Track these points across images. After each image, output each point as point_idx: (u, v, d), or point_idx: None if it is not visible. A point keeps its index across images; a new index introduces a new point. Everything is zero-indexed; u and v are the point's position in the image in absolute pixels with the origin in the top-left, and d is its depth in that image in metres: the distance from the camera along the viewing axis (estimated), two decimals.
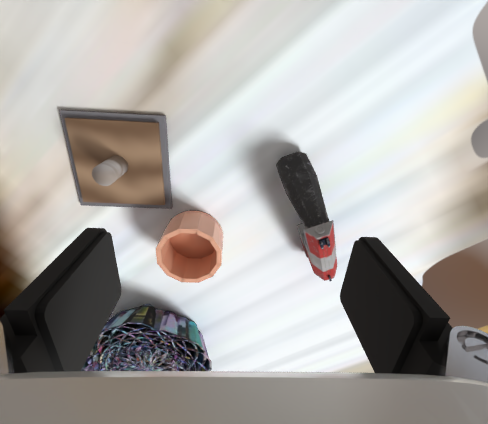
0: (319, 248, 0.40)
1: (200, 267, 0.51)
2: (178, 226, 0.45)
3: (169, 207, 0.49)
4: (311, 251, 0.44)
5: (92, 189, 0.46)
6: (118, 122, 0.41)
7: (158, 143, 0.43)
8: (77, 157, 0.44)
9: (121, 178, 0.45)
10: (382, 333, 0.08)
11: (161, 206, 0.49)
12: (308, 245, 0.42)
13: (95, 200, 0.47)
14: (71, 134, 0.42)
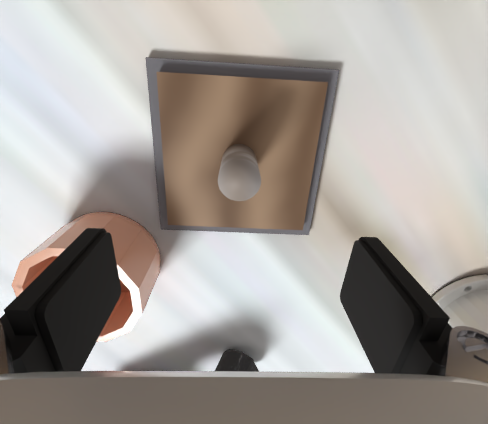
0: None
1: None
2: (139, 278, 0.25)
3: (162, 226, 0.29)
4: None
5: (188, 100, 0.23)
6: (309, 175, 0.26)
7: (273, 227, 0.28)
8: (254, 86, 0.22)
9: (214, 162, 0.25)
10: (382, 333, 0.08)
11: (162, 214, 0.28)
12: None
13: (162, 99, 0.23)
14: (298, 87, 0.22)
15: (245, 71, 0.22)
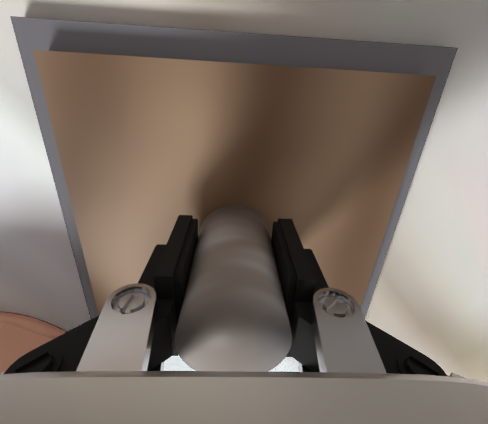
0: None
1: None
2: None
3: None
4: None
5: (117, 117, 0.10)
6: (371, 258, 0.13)
7: None
8: (267, 86, 0.10)
9: None
10: None
11: None
12: None
13: (58, 115, 0.10)
14: (367, 87, 0.10)
15: (247, 51, 0.10)
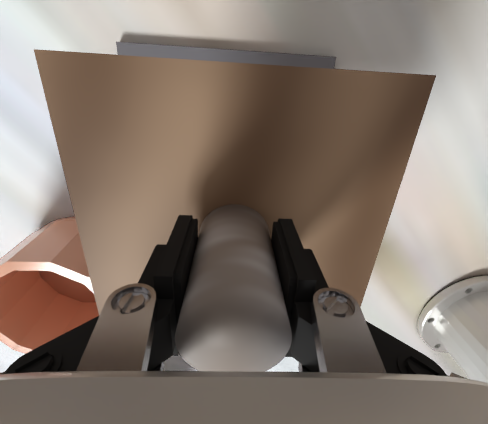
0: None
1: (22, 298, 0.25)
2: None
3: None
4: None
5: (117, 117, 0.10)
6: (371, 258, 0.13)
7: None
8: (267, 85, 0.10)
9: None
10: None
11: None
12: None
13: (58, 115, 0.10)
14: (367, 87, 0.10)
15: (231, 58, 0.20)
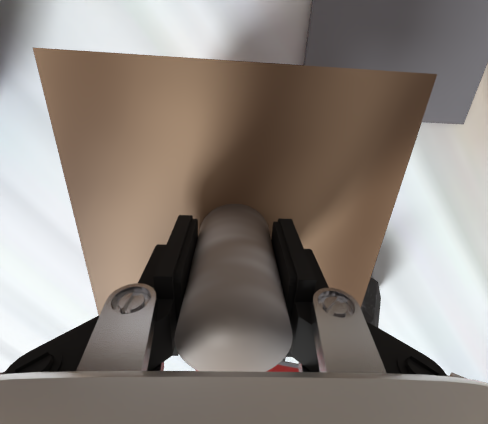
0: None
1: None
2: None
3: None
4: None
5: (117, 115, 0.10)
6: (372, 257, 0.13)
7: None
8: (268, 84, 0.10)
9: None
10: None
11: None
12: (287, 366, 0.27)
13: (58, 114, 0.10)
14: (368, 86, 0.10)
15: None
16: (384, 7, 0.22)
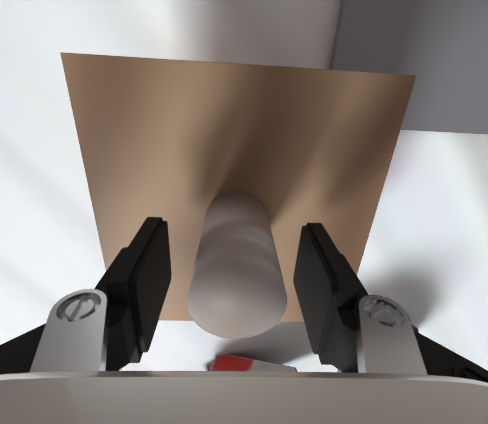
0: None
1: None
2: None
3: None
4: None
5: (132, 112, 0.11)
6: (362, 242, 0.14)
7: (293, 320, 0.17)
8: (266, 84, 0.11)
9: (190, 223, 0.14)
10: (315, 306, 0.09)
11: None
12: None
13: (80, 111, 0.11)
14: (355, 86, 0.11)
15: None
16: None
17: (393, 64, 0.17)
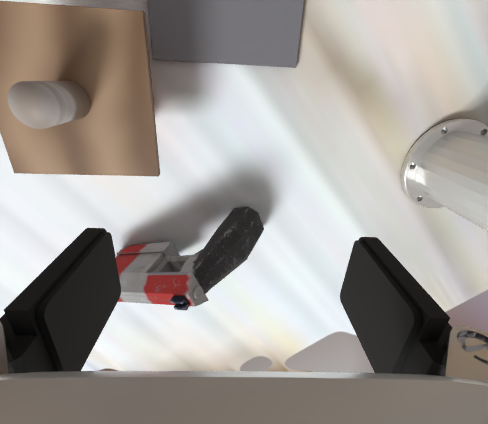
0: (166, 294, 0.30)
1: None
2: None
3: (154, 55, 0.29)
4: (149, 278, 0.32)
5: None
6: (150, 115, 0.25)
7: (127, 174, 0.28)
8: (65, 15, 0.22)
9: None
10: (382, 333, 0.08)
11: (154, 40, 0.29)
12: (161, 275, 0.31)
13: None
14: (112, 16, 0.22)
15: None
16: None
17: (186, 18, 0.28)
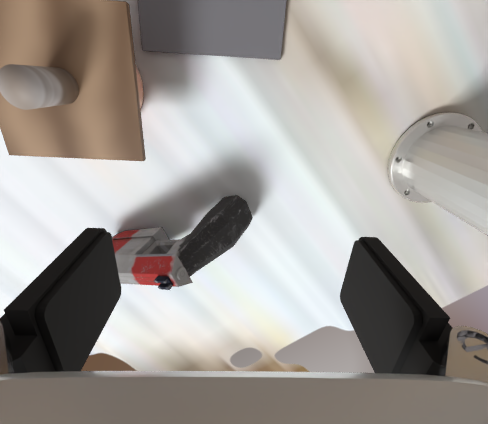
0: (151, 274, 0.31)
1: None
2: None
3: (143, 47, 0.31)
4: (137, 260, 0.33)
5: None
6: (134, 101, 0.27)
7: (113, 158, 0.29)
8: (55, 6, 0.23)
9: None
10: (382, 333, 0.08)
11: (143, 32, 0.30)
12: (148, 256, 0.32)
13: None
14: (98, 7, 0.23)
15: None
16: None
17: (173, 10, 0.29)
